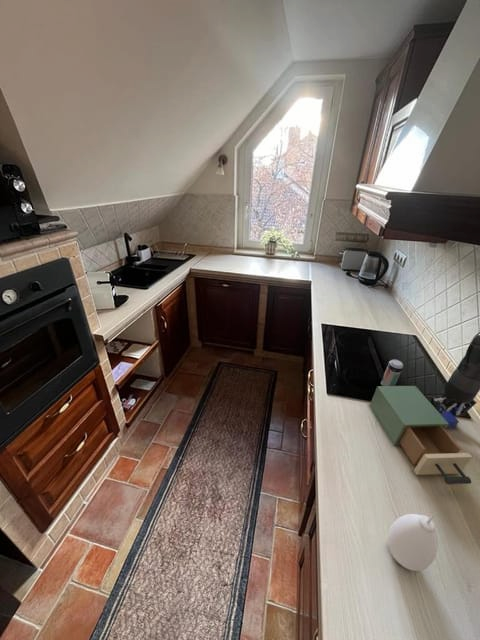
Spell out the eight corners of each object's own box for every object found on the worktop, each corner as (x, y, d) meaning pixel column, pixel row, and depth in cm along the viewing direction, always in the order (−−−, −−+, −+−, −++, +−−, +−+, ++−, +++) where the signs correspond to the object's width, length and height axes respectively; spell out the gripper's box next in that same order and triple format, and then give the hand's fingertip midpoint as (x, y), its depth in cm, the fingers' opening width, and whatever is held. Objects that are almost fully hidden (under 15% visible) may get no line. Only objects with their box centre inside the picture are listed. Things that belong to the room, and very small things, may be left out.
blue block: (428, 412, 91) (432, 406, 89) (440, 412, 91) (444, 406, 90) (442, 428, 86) (446, 421, 84) (454, 428, 86) (459, 421, 84)
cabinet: (435, 444, 80) (449, 423, 76) (393, 445, 80) (404, 424, 75) (405, 405, 94) (415, 385, 89) (369, 405, 93) (377, 386, 89)
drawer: (474, 492, 67) (489, 476, 63) (428, 494, 67) (440, 477, 63) (424, 428, 84) (434, 412, 80) (387, 429, 84) (395, 413, 80)
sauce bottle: (416, 590, 52) (455, 554, 43) (376, 555, 56) (404, 516, 47) (424, 554, 57) (461, 515, 48) (387, 525, 61) (414, 484, 52)
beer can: (383, 379, 106) (393, 357, 100) (395, 386, 103) (406, 363, 97) (378, 384, 103) (387, 361, 97) (390, 391, 100) (401, 368, 94)
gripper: (451, 392, 76) (429, 429, 85) (496, 392, 77) (470, 429, 85) (434, 375, 83) (415, 411, 91) (475, 375, 83) (452, 411, 92)
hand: (441, 419), depth 88 cm, fingers closed on blue block, 4 cm apart
